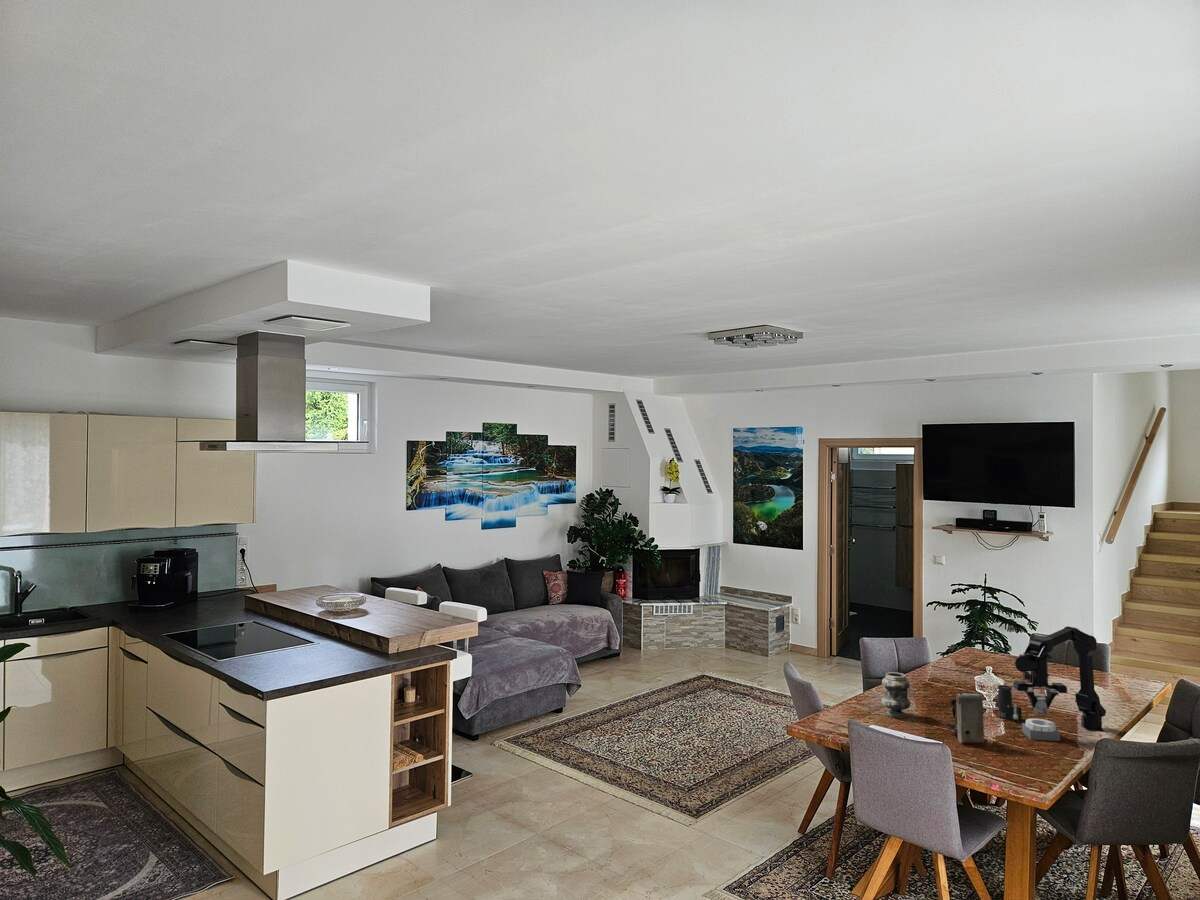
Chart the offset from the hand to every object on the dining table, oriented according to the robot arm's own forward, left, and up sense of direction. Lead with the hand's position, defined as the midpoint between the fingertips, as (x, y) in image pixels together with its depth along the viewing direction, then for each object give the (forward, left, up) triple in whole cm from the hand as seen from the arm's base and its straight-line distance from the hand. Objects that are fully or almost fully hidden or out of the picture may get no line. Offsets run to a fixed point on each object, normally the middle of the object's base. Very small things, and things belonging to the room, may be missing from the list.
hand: (1040, 708), depth 323 cm
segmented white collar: (0, 0, -11) cm, 11 cm away
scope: (+6, -21, -12) cm, 25 cm away
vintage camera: (+32, +9, -12) cm, 35 cm away
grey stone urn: (+53, -18, -12) cm, 57 cm away
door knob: (0, 0, -2) cm, 2 cm away
